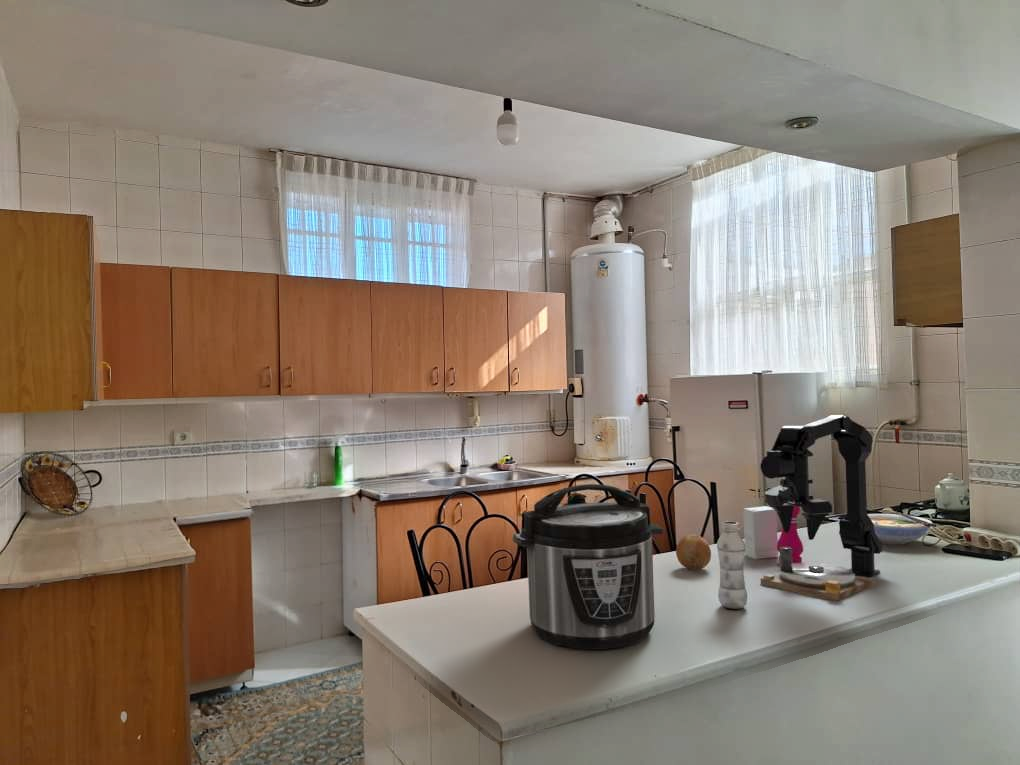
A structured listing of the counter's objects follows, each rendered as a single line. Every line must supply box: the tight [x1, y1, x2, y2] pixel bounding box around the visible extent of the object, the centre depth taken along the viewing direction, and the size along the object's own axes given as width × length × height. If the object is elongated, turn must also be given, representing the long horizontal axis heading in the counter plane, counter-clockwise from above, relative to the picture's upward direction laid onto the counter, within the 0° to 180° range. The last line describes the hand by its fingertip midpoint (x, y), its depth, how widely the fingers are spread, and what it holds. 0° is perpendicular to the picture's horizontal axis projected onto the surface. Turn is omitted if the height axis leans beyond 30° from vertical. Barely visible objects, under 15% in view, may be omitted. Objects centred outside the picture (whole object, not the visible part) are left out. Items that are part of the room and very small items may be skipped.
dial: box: [778, 547, 856, 588], centre depth 179 cm, size 18×18×8 cm
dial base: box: [760, 571, 874, 602], centre depth 179 cm, size 20×20×4 cm
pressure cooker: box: [512, 483, 664, 650], centre depth 149 cm, size 30×28×32 cm
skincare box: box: [742, 505, 779, 560], centre depth 210 cm, size 8×6×15 cm
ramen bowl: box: [867, 511, 937, 546], centre depth 225 cm, size 25×23×8 cm
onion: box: [675, 533, 712, 571], centre depth 197 cm, size 10×10×10 cm
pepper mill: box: [777, 501, 804, 563], centre depth 202 cm, size 7×7×20 cm
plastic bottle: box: [716, 520, 748, 610], centre depth 162 cm, size 6×7×20 cm
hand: (798, 535), depth 176 cm, fingers open, 9 cm apart
